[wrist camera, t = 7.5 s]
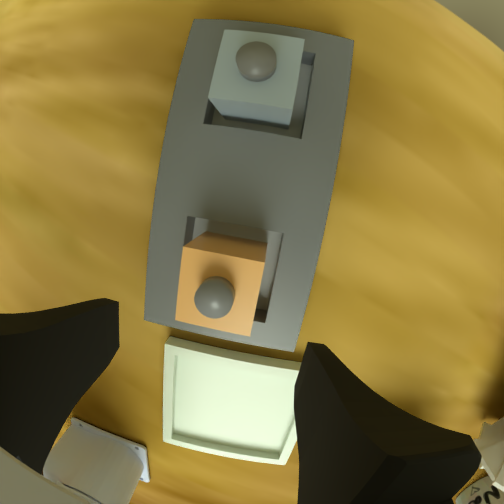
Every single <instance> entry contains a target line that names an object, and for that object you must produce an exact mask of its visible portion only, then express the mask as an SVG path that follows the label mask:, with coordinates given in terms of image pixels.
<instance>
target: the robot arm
mask: <svg viewBox="0 0 504 504" xmlns="http://www.w3.org/2000/svg"><path fill="white" fill-rule="evenodd" d="M119 347H120V346H119V302H117V301H114V300H110V299H107V298H101V299H95V300H90V301H85V302H81V303H76V304H72V305H68V306H63V307H58V308H53V309H48V310H43V311H37V312H29V313H16V314H0V504H129V502H130V499H131V497H132V495H133V493H134V490H135V488H136V486H137V484H138V481H139V480H142V481H145V482H149V481H150V475H149V467H148V458H147V449H146V447H145V446H143V445H141V444H138V443H135V442H132V441H129V440H126V439H124V438H121V437H119V436H116V435H113V434H111V433H108V432H106V431H104V430H101V429H99V428H96V427H94V426H92V425H90V424H87V423H85V422H83V421H81V420H79V419H77V418H74V417H72V418H71V423H72V424H71V425H70V427H69V428H68V429H67V430H66V432H65V433H64V434H63V436H62V437H61V438H60V439H59V441H58V442H57V443H56V445H55V446H54V447H53V448H52V446H53V444H54V442H55V439H56V438H57V436H58V434H59V432H60V430H61V428H62V426H63V424H64V423H65V421H66V419H67V418H68V416H69V414H70V413H71V411H72V409H73V408H74V406H75V405H76V404H77V402H78V401H79V400H80V398H81V397H82V396H83V395H84V394H85V392H86V391H87V390H88V389H89V388H90V386H91V385H92V384H93V383H94V382H95V381H96V379H97V378H98V377H99V376H100V375H101V373H102V372H103V371H104V370H105V369H106V367H107V366H108V365H109V363H110V362H111V360H112V359H113V357H114V355H115V354H116V352H117V350H118V348H119ZM294 416H295V425H296V434H297V443H298V452H299V489H298V504H454V503H453V500H452V497H453V496H454V495H455V494H456V493H457V492H458V491H459V490H460V489H461V488H462V487H463V486H464V485H465V484H466V483H467V482H468V481H469V480H470V478H471V477H472V476H473V475H474V474H475V472H476V471H477V469H478V467H479V465H480V463H481V458H482V455H481V453H480V451H479V450H478V448H477V446H476V445H475V443H474V441H473V440H472V438H471V436H470V435H467V434H463V433H459V432H455V431H452V430H448V429H445V428H441V427H439V426H436V425H433V424H431V423H428V422H426V421H423V420H421V419H419V418H417V417H415V416H413V415H411V414H409V413H407V412H405V411H403V410H402V409H400V408H398V407H396V406H395V405H393V404H391V403H390V402H388V401H387V400H385V399H384V398H383V397H381V396H380V395H378V394H377V393H376V392H374V391H373V390H372V389H370V388H369V387H368V386H367V385H366V384H365V383H363V382H362V381H361V380H360V379H359V378H358V377H357V376H356V375H354V374H353V373H352V372H351V371H350V370H349V369H348V368H347V367H346V366H345V365H344V364H343V363H342V362H341V361H340V360H339V359H338V357H337V356H336V355H335V354H334V353H333V352H332V351H331V350H330V349H329V348H328V347H327V346H326V345H324V344H319V343H312V342H308V343H307V346H306V350H305V353H304V356H303V360H302V363H301V366H300V370H299V373H298V376H297V379H296V382H295V385H294ZM51 448H52V450H51ZM50 450H51V451H50ZM43 467H44V468H43ZM42 470H43V474H44V476H42V475H41V473H42Z"/></svg>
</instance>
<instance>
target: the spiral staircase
mask: <svg viewBox="0 0 504 504" xmlns="http://www.w3.org/2000/svg"><path fill="white" fill-rule="evenodd" d="M473 441H474V443H475V445H476V446H477V448H478V450H479V451H480V453H481V455H482V458H481V463H480V465H479V468H480V469H485V470H486V472H487V473H488V475H489V477H490V478H491V480H492V481H494V482H493V483H492V485H494V486H495V487H497V488H498V489H500V490H501V491H503V492H504V417H502V418H501V419H499V420H498V421H497V422H495V423H494V424H492V425H490V424H488V423H486V422H484V423H483V424H482V427H481V431H480V435H479V438H478V439H474V440H473Z"/></svg>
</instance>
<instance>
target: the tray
mask: <svg viewBox="0 0 504 504" xmlns="http://www.w3.org/2000/svg"><path fill="white" fill-rule="evenodd" d="M301 363H302V362H296V361H289V360H283V359H277V358H271V357H265V356H259V355H254V354H248V353H243V352H238V351H233V350H228V349H223V348H219V347H214V346H210V345H205V344H201V343H196V342H192V341H188V340H184V339H180V338H176V337H172V336H170V337H169V338H168V340H167V341H166V343H165V352H164V379H163V441H164V442H167V443H170V444H174V445H178V446H181V447H185V448H189V449H193V450H197V451H202V452H206V453H210V454H215V455H220V456H225V457H231V458H236V459H242V460H248V461H255V462H262V463H270V464H279V465H285V464H286V462H287V460H288V458H289V456H290V454H291V451H292V449H293V447H294V445H295V443H296V440H297V434H296V425H295V416H294V385H295V382H296V379H297V376H298V373H299V370H300V366H301Z"/></svg>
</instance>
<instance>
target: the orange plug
mask: <svg viewBox="0 0 504 504" xmlns="http://www.w3.org/2000/svg"><path fill="white" fill-rule="evenodd" d="M267 244H268V243H266V242H260V241H255V240H250V239H245V238H240V237H234V236H229V235H224V234H219V233H213V232H208V231H205V232H204V233H202V234H201V235H199V236H198V237H196V238H195V239H193V240H192V241H190V242H189V243H188V244H186V245H185V246H183V251H182V259H181V267H180V276H179V285H178V295H177V305H176V316H175V320H177V321H181V322H185V323H189V324H193V325H198V326H202V327H206V328H211V329H215V330H220V331H225V332H230V333H234V334H239V335H244V336H249V337H250V334H251V329H252V324H253V320H254V315H255V310H256V305H257V300H258V295H259V290H260V285H261V280H262V275H263V270H264V265H265V259H266V252H267Z"/></svg>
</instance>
